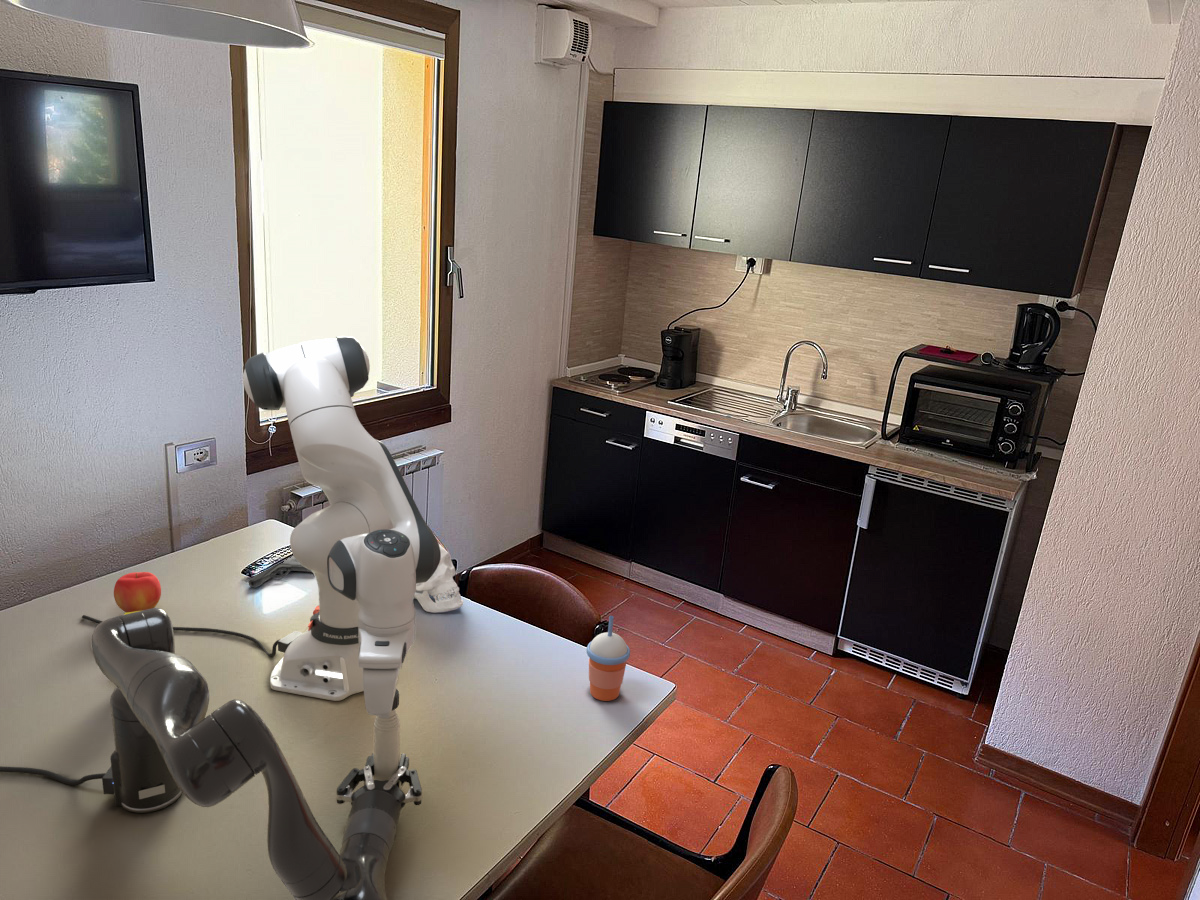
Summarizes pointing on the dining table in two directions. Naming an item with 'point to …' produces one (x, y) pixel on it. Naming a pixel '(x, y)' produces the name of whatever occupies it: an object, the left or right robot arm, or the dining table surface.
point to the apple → (137, 591)
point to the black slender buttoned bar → (277, 571)
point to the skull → (440, 588)
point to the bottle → (386, 746)
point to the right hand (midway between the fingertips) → (386, 705)
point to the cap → (395, 700)
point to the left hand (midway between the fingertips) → (389, 757)
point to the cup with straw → (607, 664)
